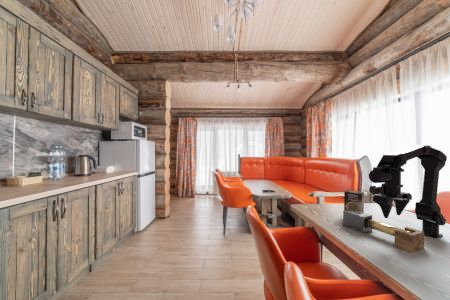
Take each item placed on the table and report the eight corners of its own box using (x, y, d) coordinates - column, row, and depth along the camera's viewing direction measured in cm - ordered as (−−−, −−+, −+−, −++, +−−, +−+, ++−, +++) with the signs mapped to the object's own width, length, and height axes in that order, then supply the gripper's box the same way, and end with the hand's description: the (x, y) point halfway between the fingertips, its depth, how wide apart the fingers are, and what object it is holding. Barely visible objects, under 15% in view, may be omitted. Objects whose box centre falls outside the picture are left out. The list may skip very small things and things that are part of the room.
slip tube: (365, 224, 106) (365, 216, 106) (413, 241, 87) (413, 231, 87) (359, 225, 104) (359, 217, 104) (407, 242, 86) (407, 232, 86)
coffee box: (343, 218, 121) (343, 191, 121) (346, 215, 126) (346, 189, 126) (361, 222, 115) (362, 193, 115) (364, 219, 120) (364, 191, 120)
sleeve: (351, 223, 114) (351, 209, 114) (372, 230, 104) (372, 215, 104) (343, 225, 111) (343, 210, 111) (363, 233, 101) (363, 217, 101)
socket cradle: (406, 242, 91) (406, 226, 91) (424, 248, 86) (424, 231, 86) (394, 246, 88) (394, 230, 88) (411, 252, 82) (411, 235, 82)
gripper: (385, 177, 104) (385, 208, 104) (360, 180, 96) (360, 213, 97) (412, 181, 93) (412, 215, 94) (387, 184, 86) (387, 221, 86)
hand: (392, 216), depth 93 cm, fingers open, 9 cm apart
